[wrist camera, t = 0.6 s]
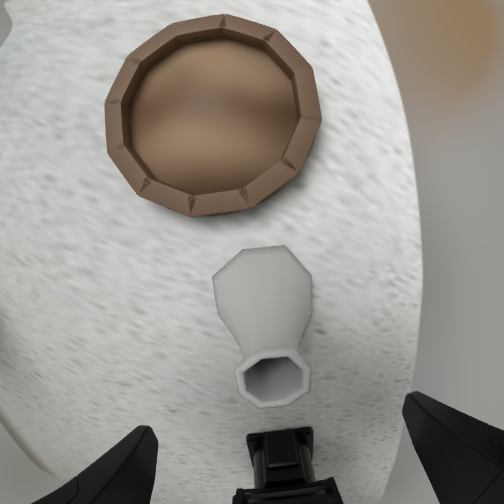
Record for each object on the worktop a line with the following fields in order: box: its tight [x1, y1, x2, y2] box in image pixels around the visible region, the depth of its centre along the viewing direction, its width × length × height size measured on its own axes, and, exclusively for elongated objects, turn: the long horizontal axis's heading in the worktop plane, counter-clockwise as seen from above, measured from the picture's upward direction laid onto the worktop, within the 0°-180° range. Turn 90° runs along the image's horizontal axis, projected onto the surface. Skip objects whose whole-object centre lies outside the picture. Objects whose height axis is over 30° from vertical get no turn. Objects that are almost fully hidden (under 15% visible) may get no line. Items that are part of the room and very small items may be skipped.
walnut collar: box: [105, 14, 322, 217], centre depth 16 cm, size 14×14×2 cm
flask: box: [212, 245, 312, 409], centre depth 16 cm, size 7×7×10 cm
